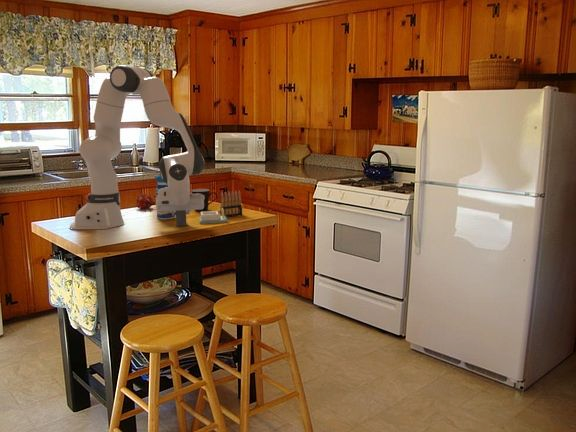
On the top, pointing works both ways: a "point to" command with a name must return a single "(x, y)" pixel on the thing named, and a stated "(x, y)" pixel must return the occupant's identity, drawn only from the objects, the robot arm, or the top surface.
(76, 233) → the top surface
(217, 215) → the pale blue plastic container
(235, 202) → the ammunition clip
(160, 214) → the blue and white bottle
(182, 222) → the plug
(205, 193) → the coffee mug
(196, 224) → the top surface
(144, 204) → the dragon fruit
